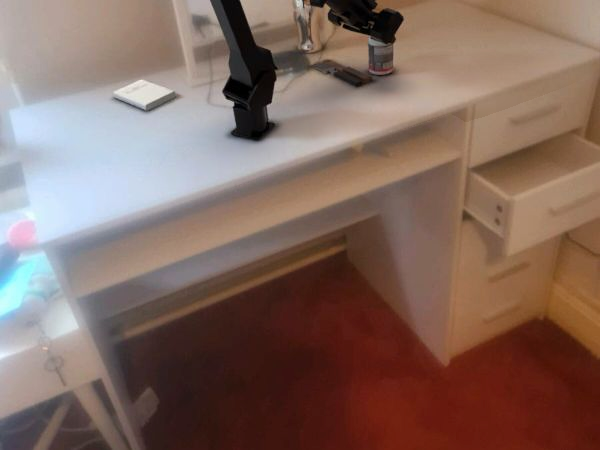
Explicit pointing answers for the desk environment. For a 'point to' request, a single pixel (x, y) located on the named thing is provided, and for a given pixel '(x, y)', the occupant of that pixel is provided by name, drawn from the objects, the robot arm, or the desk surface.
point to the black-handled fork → (337, 74)
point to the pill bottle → (380, 57)
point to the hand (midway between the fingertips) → (385, 38)
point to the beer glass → (307, 25)
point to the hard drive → (144, 94)
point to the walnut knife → (349, 71)
